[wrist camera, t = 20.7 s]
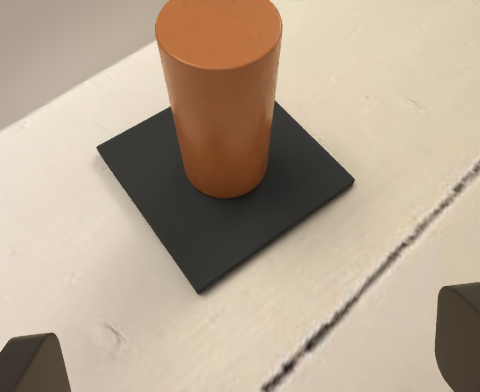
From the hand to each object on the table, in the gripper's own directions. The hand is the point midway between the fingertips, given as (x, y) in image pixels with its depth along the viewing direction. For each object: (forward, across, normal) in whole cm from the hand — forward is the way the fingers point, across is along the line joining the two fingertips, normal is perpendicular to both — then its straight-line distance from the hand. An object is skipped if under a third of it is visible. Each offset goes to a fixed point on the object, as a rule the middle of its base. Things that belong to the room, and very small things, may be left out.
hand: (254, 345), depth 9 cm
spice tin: (+12, 0, -1) cm, 12 cm away
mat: (+13, 0, -1) cm, 13 cm away
